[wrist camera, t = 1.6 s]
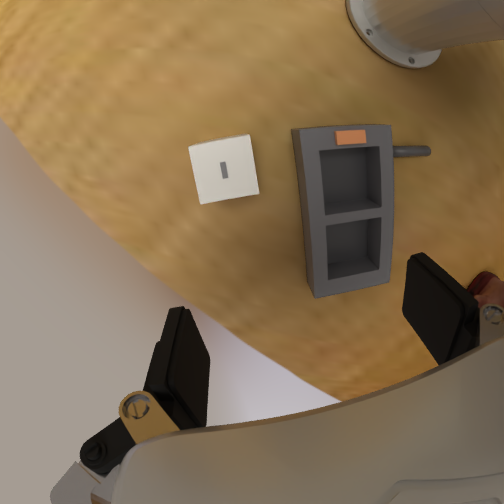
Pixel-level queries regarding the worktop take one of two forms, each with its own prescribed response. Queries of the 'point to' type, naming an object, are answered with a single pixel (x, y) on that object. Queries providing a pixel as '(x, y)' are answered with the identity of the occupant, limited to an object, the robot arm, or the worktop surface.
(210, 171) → the block
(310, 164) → the power strip
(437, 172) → the worktop surface
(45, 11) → the worktop surface
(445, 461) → the robot arm
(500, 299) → the decorative planter
